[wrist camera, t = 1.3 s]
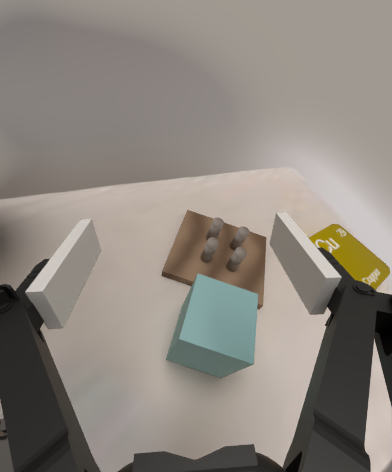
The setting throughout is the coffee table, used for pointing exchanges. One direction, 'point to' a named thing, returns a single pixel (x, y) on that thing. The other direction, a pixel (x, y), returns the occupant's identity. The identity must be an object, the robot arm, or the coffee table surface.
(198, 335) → the teal block
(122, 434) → the coffee table surface
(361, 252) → the element tile
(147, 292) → the coffee table surface
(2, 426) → the figurine
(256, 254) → the peg board
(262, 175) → the coffee table surface
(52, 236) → the coffee table surface
